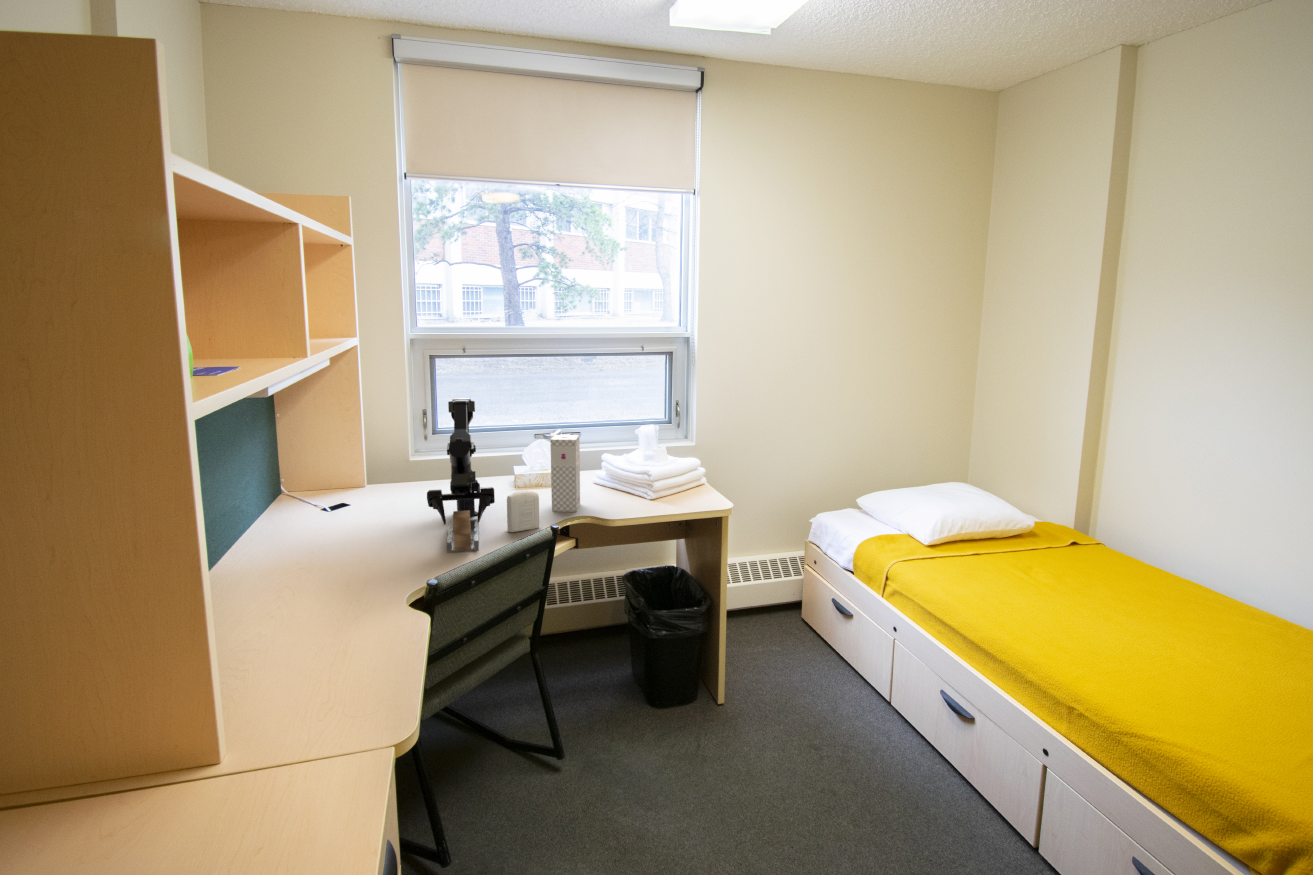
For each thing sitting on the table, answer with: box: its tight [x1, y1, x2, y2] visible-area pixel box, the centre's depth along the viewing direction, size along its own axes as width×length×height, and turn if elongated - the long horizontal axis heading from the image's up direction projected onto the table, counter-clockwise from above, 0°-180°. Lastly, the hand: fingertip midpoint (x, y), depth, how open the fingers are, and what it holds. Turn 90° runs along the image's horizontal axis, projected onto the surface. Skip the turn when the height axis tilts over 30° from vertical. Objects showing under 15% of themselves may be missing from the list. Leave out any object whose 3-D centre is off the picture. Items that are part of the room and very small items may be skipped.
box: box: [550, 434, 581, 513], centre depth 235 cm, size 8×8×25 cm
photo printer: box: [506, 490, 540, 533], centre depth 214 cm, size 10×4×12 cm, turn 123°
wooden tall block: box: [452, 510, 471, 550], centre depth 196 cm, size 4×5×10 cm
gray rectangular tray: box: [446, 518, 480, 554], centre depth 204 cm, size 20×9×3 cm, turn 14°
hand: (461, 523), depth 194 cm, fingers open, 9 cm apart
